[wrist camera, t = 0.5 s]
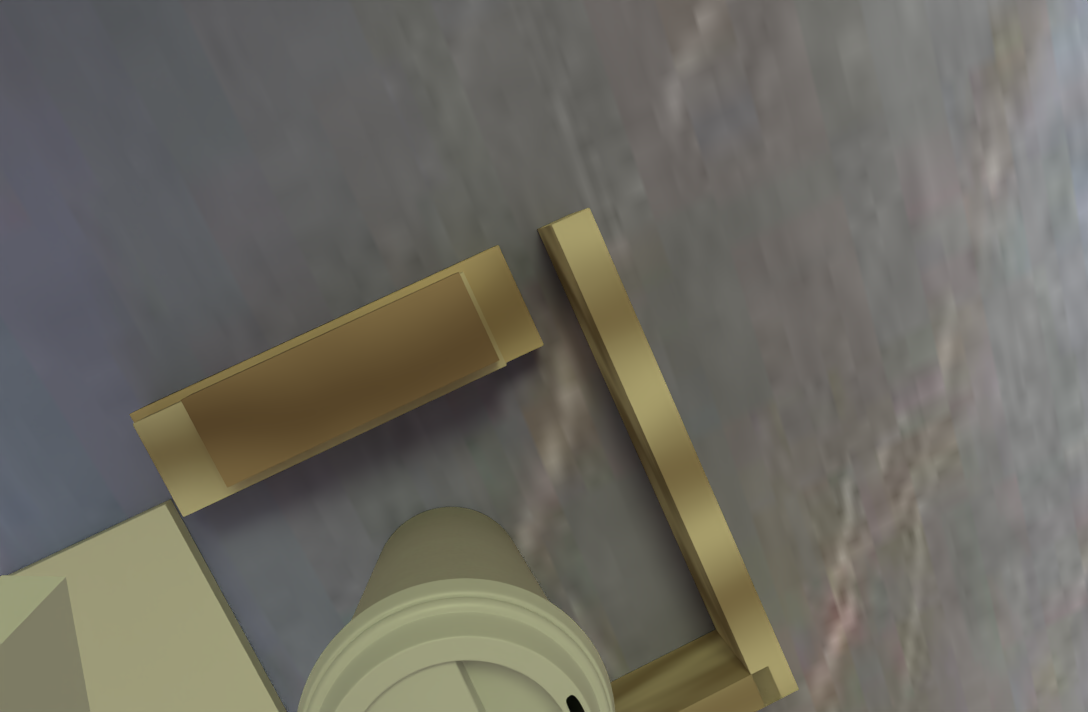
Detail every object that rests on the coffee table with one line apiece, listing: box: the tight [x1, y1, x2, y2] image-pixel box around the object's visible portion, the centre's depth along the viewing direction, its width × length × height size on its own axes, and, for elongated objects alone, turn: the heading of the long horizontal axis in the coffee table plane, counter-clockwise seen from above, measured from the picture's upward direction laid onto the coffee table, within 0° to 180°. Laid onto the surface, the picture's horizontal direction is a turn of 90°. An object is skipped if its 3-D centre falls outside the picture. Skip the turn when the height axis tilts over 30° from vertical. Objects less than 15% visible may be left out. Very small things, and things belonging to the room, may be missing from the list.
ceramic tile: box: [9, 499, 287, 712], centre depth 37 cm, size 11×11×1 cm
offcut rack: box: [537, 208, 799, 712], centre depth 36 cm, size 22×22×4 cm
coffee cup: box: [297, 507, 615, 712], centre depth 31 cm, size 10×10×15 cm
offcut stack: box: [130, 245, 544, 517], centre depth 34 cm, size 4×16×5 cm, turn 114°
